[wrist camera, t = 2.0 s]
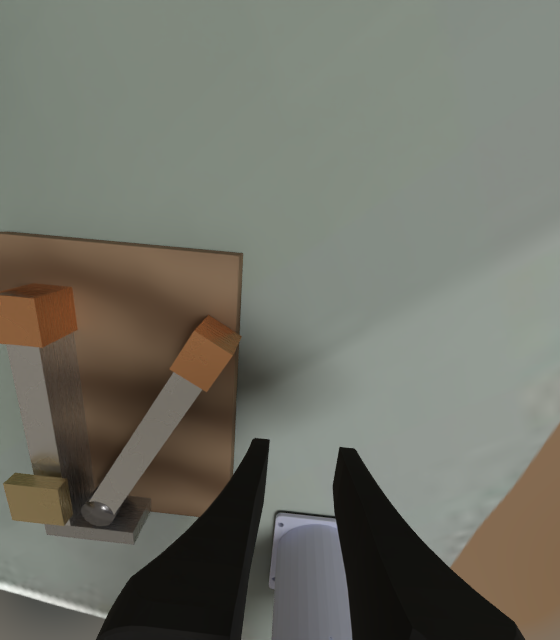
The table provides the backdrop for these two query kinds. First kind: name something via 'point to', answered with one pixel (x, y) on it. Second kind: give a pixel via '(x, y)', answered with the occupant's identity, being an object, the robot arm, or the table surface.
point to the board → (143, 351)
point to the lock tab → (38, 499)
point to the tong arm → (163, 416)
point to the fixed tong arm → (58, 404)
